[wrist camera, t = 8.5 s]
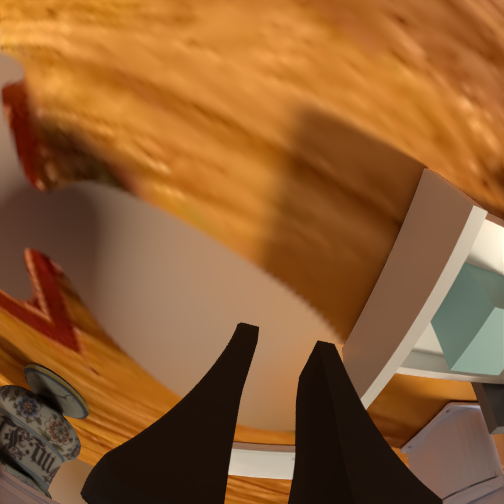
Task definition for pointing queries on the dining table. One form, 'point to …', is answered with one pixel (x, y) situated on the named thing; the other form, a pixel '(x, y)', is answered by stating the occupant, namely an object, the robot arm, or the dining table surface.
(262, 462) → the hard drive
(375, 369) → the tray
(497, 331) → the teal block
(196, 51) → the dining table surface
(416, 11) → the dining table surface
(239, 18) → the dining table surface
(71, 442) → the apothecary jar
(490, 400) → the housing
